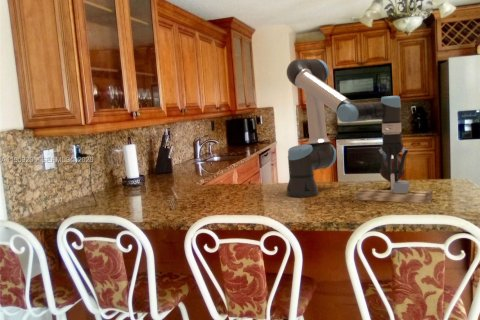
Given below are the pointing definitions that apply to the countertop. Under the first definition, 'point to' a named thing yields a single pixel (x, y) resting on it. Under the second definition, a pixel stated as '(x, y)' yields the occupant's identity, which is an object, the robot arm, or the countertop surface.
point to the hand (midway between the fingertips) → (393, 189)
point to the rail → (394, 196)
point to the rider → (401, 187)
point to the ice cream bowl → (392, 172)
